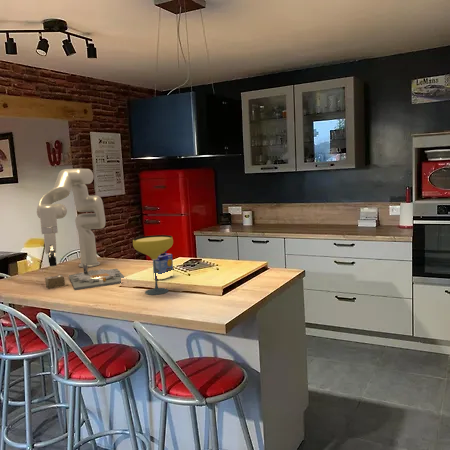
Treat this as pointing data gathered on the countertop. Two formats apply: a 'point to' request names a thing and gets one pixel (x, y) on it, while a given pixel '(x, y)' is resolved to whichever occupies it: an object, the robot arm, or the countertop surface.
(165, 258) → the ink cartridge box
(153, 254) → the cocktail glass
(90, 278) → the sprocket
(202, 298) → the countertop surface
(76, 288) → the sprocket base
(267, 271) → the countertop surface
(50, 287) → the brown rectangular block
